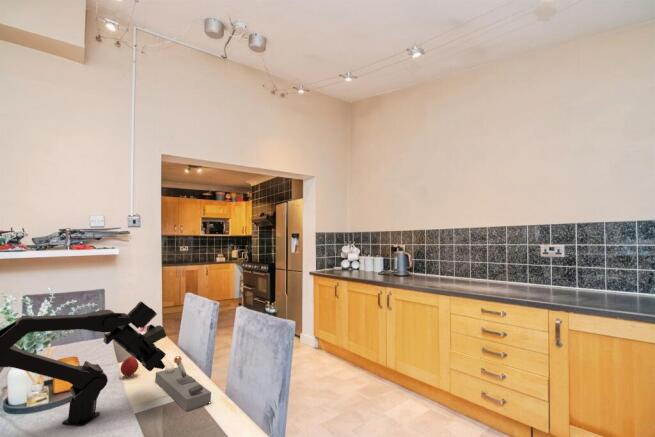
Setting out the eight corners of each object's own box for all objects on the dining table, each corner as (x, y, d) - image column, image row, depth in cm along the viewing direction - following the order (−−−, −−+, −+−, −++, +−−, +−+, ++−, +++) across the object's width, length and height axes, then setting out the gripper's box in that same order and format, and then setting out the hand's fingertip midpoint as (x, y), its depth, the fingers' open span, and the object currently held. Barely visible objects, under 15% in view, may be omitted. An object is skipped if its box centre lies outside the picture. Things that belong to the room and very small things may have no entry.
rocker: (191, 394, 105) (191, 391, 104) (188, 392, 106) (188, 389, 106) (202, 389, 107) (202, 386, 107) (199, 387, 109) (199, 384, 109)
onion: (128, 380, 121) (131, 358, 122) (115, 378, 122) (118, 356, 123) (140, 375, 127) (142, 353, 127) (128, 373, 128) (130, 352, 129)
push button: (166, 373, 121) (167, 368, 121) (164, 371, 123) (164, 366, 123) (175, 371, 123) (175, 366, 123) (172, 369, 125) (172, 364, 125)
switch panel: (185, 411, 102) (186, 398, 102) (155, 381, 121) (156, 371, 122) (210, 403, 107) (211, 391, 108) (177, 376, 127) (177, 366, 127)
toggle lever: (182, 379, 114) (174, 359, 112) (179, 377, 115) (171, 358, 114) (189, 374, 115) (181, 355, 114) (186, 372, 117) (178, 353, 115)
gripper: (161, 325, 102) (193, 354, 109) (142, 314, 115) (172, 340, 122) (130, 356, 95) (166, 385, 102) (114, 341, 109) (147, 367, 115)
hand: (163, 367), depth 111 cm, fingers closed
